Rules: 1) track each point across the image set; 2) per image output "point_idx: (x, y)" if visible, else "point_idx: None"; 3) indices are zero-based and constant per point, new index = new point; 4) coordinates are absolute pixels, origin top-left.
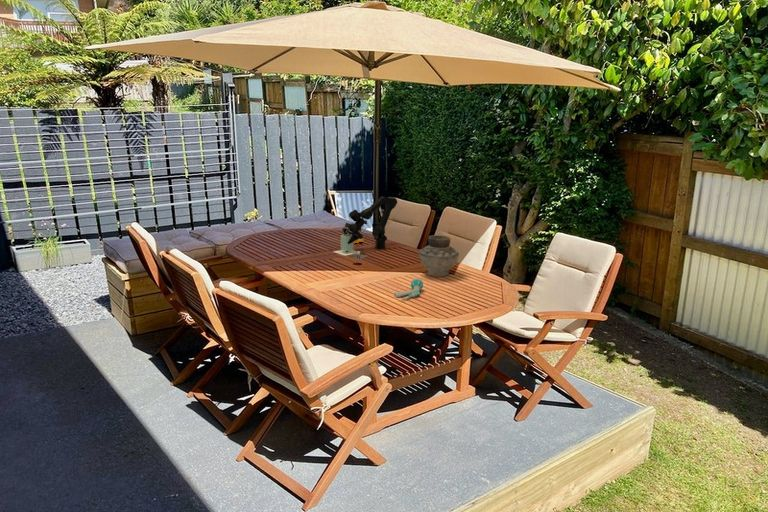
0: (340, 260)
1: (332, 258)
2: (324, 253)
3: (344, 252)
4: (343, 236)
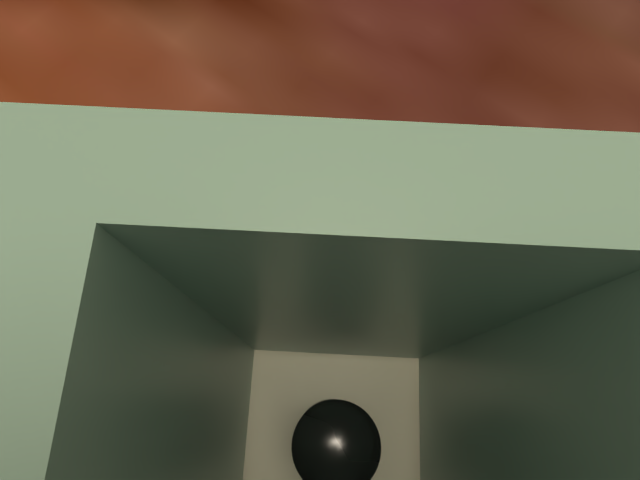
0: (66, 61)
1: (257, 41)
2: (630, 126)
3: (341, 363)
4: (352, 121)
